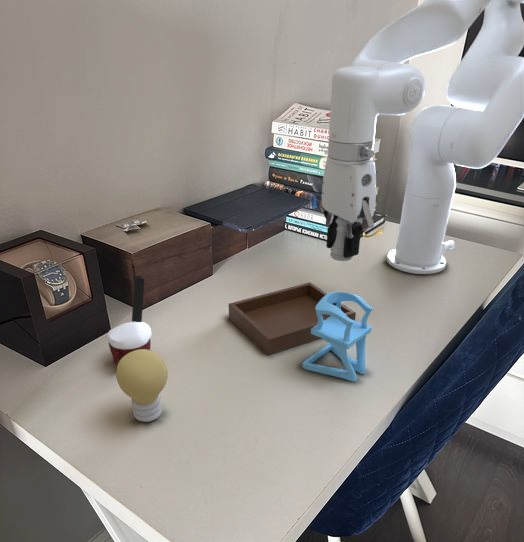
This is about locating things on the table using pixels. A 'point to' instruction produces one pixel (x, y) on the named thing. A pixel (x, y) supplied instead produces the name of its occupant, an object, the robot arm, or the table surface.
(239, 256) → the table surface
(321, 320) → the chair
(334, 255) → the rook chess piece
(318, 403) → the table surface
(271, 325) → the tray
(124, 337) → the cocoa
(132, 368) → the light bulb
